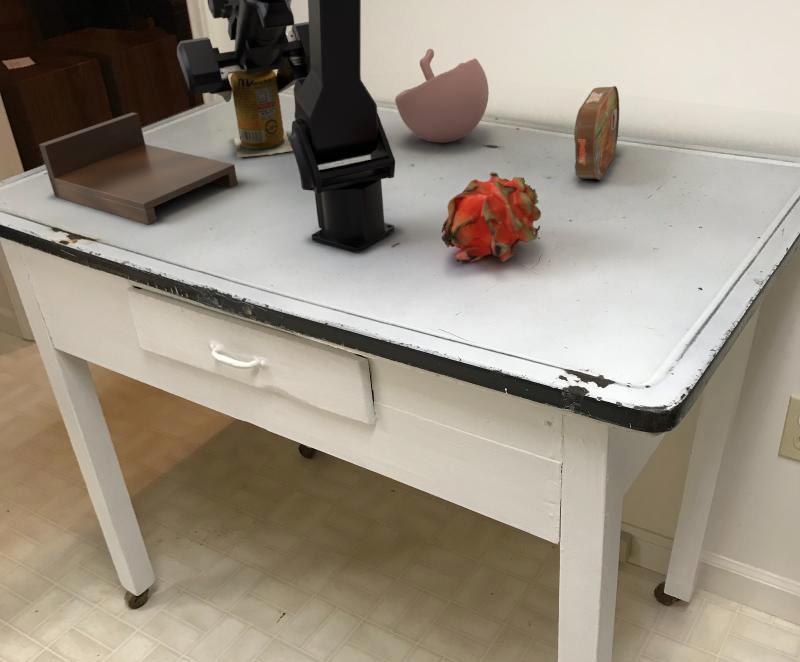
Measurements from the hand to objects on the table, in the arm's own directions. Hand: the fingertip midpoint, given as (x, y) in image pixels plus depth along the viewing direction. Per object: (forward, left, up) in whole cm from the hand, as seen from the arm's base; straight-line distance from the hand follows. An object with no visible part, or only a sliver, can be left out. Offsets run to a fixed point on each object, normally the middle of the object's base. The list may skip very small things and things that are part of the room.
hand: (252, 94), depth 114 cm
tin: (-44, -12, -7) cm, 46 cm away
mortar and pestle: (-22, -12, -7) cm, 26 cm away
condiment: (-1, +1, -7) cm, 7 cm away
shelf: (0, +20, -7) cm, 21 cm away
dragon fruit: (-46, +15, -7) cm, 49 cm away
